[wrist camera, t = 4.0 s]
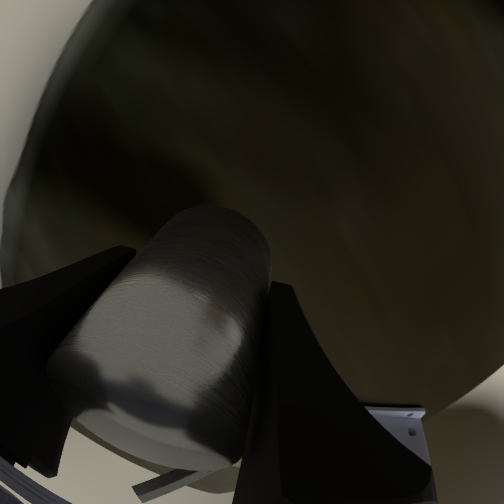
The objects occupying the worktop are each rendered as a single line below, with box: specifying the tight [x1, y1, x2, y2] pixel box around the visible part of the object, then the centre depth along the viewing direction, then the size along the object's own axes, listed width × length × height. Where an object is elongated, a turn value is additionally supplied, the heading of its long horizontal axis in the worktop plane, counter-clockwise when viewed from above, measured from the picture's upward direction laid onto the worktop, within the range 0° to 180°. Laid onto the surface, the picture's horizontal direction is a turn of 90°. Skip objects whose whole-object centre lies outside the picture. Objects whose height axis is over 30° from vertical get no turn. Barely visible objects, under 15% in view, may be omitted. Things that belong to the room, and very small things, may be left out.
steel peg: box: [46, 205, 272, 471], centre depth 8 cm, size 4×4×7 cm
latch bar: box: [132, 469, 219, 503], centre depth 19 cm, size 9×3×1 cm
